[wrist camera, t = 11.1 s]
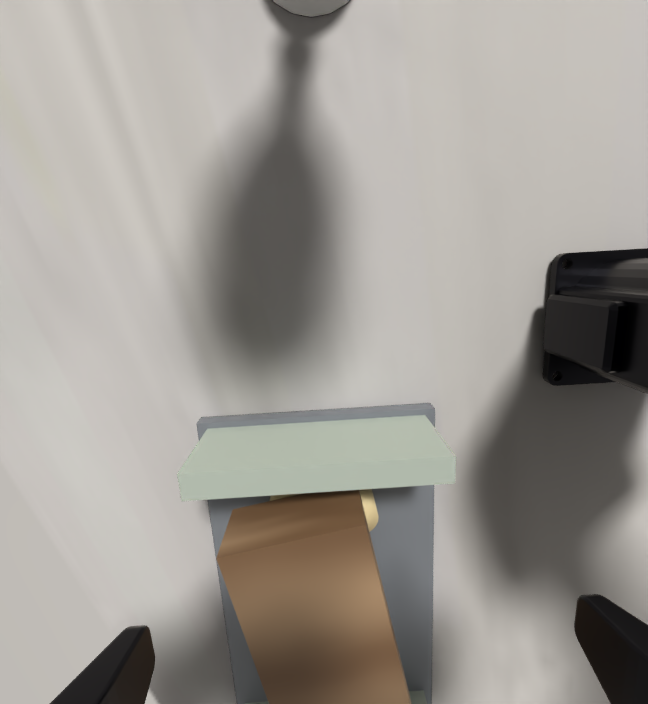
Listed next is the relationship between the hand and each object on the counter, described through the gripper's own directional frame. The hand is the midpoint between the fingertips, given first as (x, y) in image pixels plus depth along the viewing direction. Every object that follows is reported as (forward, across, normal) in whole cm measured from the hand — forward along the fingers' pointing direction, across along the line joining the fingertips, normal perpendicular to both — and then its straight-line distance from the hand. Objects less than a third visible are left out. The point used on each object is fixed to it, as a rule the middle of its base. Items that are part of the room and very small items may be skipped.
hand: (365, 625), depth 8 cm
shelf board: (+9, +1, +10) cm, 14 cm away
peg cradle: (+12, +1, +10) cm, 16 cm away
